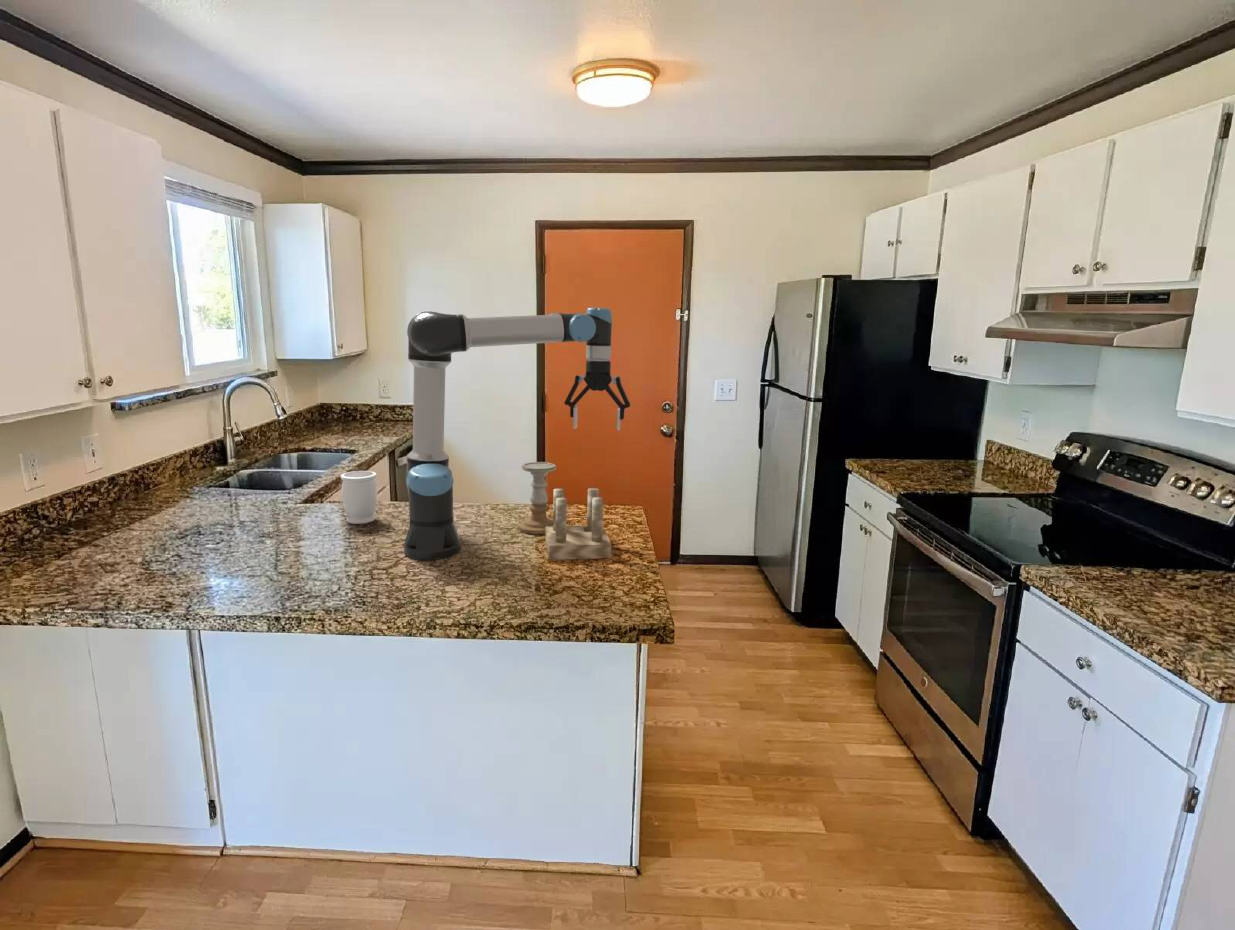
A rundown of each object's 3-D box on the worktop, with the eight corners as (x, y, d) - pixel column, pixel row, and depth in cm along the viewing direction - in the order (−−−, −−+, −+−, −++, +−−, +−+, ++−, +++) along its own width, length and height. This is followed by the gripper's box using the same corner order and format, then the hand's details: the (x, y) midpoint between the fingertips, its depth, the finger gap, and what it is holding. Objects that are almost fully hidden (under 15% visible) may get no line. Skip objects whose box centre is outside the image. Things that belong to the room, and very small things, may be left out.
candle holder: (542, 537, 198) (542, 471, 193) (510, 529, 204) (510, 465, 200) (566, 527, 208) (567, 464, 204) (535, 520, 214) (535, 459, 210)
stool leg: (587, 544, 193) (588, 490, 190) (586, 540, 196) (587, 488, 193) (598, 543, 194) (599, 490, 190) (596, 540, 197) (598, 488, 193)
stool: (548, 559, 180) (549, 502, 176) (545, 539, 196) (545, 486, 193) (610, 557, 183) (612, 501, 179) (602, 538, 199) (603, 486, 195)
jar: (366, 526, 203) (364, 479, 199) (336, 523, 205) (333, 476, 201) (385, 517, 213) (383, 471, 210) (356, 514, 215) (353, 469, 212)
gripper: (640, 360, 204) (637, 428, 209) (560, 357, 207) (559, 425, 211) (638, 362, 197) (635, 432, 201) (555, 359, 199) (554, 428, 204)
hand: (596, 429), depth 206 cm, fingers open, 13 cm apart
